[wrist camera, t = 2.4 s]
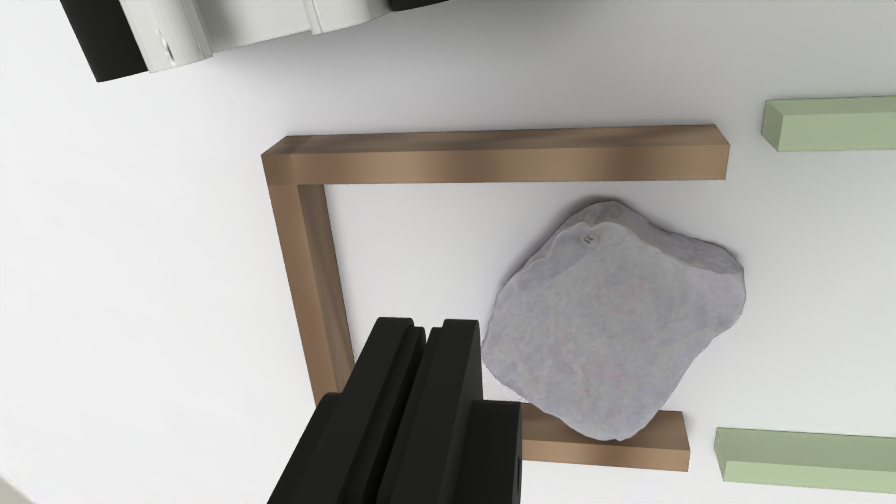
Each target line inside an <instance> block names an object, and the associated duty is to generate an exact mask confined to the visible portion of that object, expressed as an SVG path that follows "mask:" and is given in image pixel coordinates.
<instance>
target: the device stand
mask: <svg viewBox="0 0 896 504" xmlns="http://www.w3.org/2000/svg"><path fill="white" fill-rule="evenodd" d="M445 1H449V0H60V2H61V4H62V6H63V9H64V11H65V13H66V15H67V17H68V20H69V22H70V24H71V26H72V28H73V30H74V33H75V35H76V37H77V39H78V41H79V44H80V46H81V48H82V50H83V52H84V55H85V57H86V59H87V61H88V63H89V65H90V68H91V70H92V72H93V74H94V76H95V79H96V81H97V82H104V81H109V80H113V79H118V78H122V77H126V76H130V75H134V74H138V73H142V72H146V71H149V73H154V72H159V71H163V70H167V69H172V68H176V67H180V66H184V65H187V64H191V63H194V62H198V61H201V60H204V59H207V58H209V57H212V56H213V55H212V53H214V52H218V51H223V50H227V49H231V48H235V47H239V46H244V45H248V44H252V43H256V42H261V41H265V40H269V39H273V38H277V37H282V36H286V35H290V34H294V33H298V32H303V31H307V30H311V31H312V35H315V34H321V33H325V32H330V31H334V30H338V29H342V28H347V27H350V26H354V25H358V24H361V23H365V22H368V21H371V20H373V19H375V18H378V17H380V16H382V15H384V14H386V13H389V12H391V11H393V12H395V11H402V10H408V9H413V8H418V7H423V6H427V5H432V4H436V3H440V2H445Z"/></svg>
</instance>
